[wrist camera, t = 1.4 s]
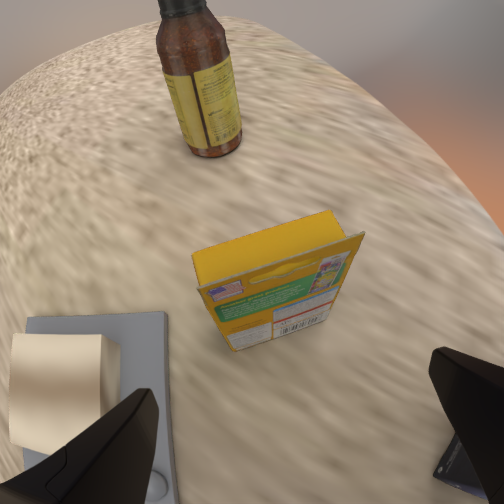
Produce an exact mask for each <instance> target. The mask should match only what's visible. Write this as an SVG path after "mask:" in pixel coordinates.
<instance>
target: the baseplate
mask: <svg viewBox="0 0 504 504" xmlns="http://www.w3.org/2000/svg"><path fill="white" fill-rule="evenodd" d="M25 334H56V335H95V334H102V335H103V336H105V337H107V338H109V339H110V340H112V341H114V342H116V343H118V344H119V345H121V350H120V402H121V401H122V400H124V399H125V398H126V397H127V396H129V395H130V394H131V393H132V392H134V391H135V390H136V389H138V388H150V389H151V390H152V391H153V394H154V396H155V399H156V401H157V404H158V407H159V421H158V431H157V441H156V451H155V457H154V462H153V466H152V471H151V475H150V480H149V485H148V490H147V494H146V499H145V504H179V497H178V489H177V481H176V472H175V462H174V452H173V440H172V427H171V412H170V393H169V367H168V315H167V314H166V313H165V312H164V311H159V312H144V313H128V314H109V315H87V316H56V317H28V318H27V325H26V333H25ZM49 456H50V455H47V454H44V453H40V452H37V451H34V450H31V449H28V448H24V447H23V457H24V467H25V471H26V470H28V469H29V468H31V467H33V466H35V465H36V464H38V463H39V462H41V461H43V460H44V459H46V458H47V457H49Z"/></svg>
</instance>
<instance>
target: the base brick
mask: <svg viewBox="0 0 504 504" xmlns="http://www.w3.org/2000/svg"><path fill="white" fill-rule="evenodd" d="M120 350H121V345H119V344H118V343H116V342H114V341H112V340H110V339H109V338H107V337H105V336H103V335H102V334H95V335H56V334H19V333H13V342H12V351H11V363H10V379H9V432H10V443H13V444H16V445H18V446H21V447H24V448H28V449H31V450H34V451H37V452H40V453H44V454H47V455H52V454H53V453H54V452H56V451H57V450H59V449H60V448H61V447H63V446H66V444H67V443H68V442H69V441H71V440H72V439H73V438H75V437H76V436H77V435H79V434H80V433H81V432H82V431H84V430H85V429H86V428H88V427H89V426H90V425H92V424H93V423H94V422H95V421H97V420H98V419H99V418H101V417H102V416H103V415H105V414H106V413H107V412H108V411H110V410H111V409H112V408H113V407H115V406H116V405H117V404H119V403H120Z"/></svg>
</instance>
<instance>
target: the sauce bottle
mask: <svg viewBox="0 0 504 504" xmlns="http://www.w3.org/2000/svg"><path fill="white" fill-rule="evenodd" d="M158 3H159V7H160V15H161V18H162V21H161V24H160V27H159V30H158V33H157V35H156V46H157V53H158V54H159V57H160V60H161V63H162V70H163V74H164V77H165V80H166V83H167V86H168V89H169V92H170V95H171V99H172V102H173V105H174V108H175V111H176V114H177V117H178V121H179V124H180V127H181V130H182V133H183V136H184V139H185V141H186V142H187V143H188V145H189V147H190V149H191V150H192V152H193V153H194V154H196V155H199V156H205V157H217V156H222V155H224V154H226V153H229V152H231V151H232V150H233V149H235V148H236V147H237V146H238V145H239V143H240V141H241V137H242V129H241V126H242V123H241V117H240V111H239V104H238V99H237V93H236V87H235V81H234V74H233V68H232V63H231V57H230V51H229V48H228V46H227V43H226V37H225V30H224V28H223V27H222V25H221V24H220V23H219V22H218V21H217V19H216V18H215V17H214V15H213V14H212V13H211V11H210V10H209V9H208V7H207V6H206V1H205V0H158Z"/></svg>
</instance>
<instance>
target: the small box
mask: <svg viewBox="0 0 504 504" xmlns="http://www.w3.org/2000/svg"><path fill="white" fill-rule="evenodd" d="M433 476H434V477H435V478H437V479H439V480H441V481H443V482H445V483H447V484H449V485H451V486H454V487H455V488H458V489H460V490H463V491H465V492H468V493H470V494H473V495H475V496H478V497H481V498H483V499H486V500H488V499H487V497H486V495H485V493H484V490H483V488H482V486H481V483H480V481H479V479H478V477H477V475H476V473H475V470H474V468H473V466H472V464H471V462H470V460H469V458H468V456H467V454H466V452H465V450H464V448H463V446H462V444H461V442H460V440H459V438H458V436H457V434H455V436H454V438H453V440H452V442H451V444H450V445H449V447H448V449H447V451H446V453H445V454H444V455H443V457H442V459H441V461H440V463H439V465H438V467H437V469H436V471H435V472H434V474H433Z"/></svg>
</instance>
